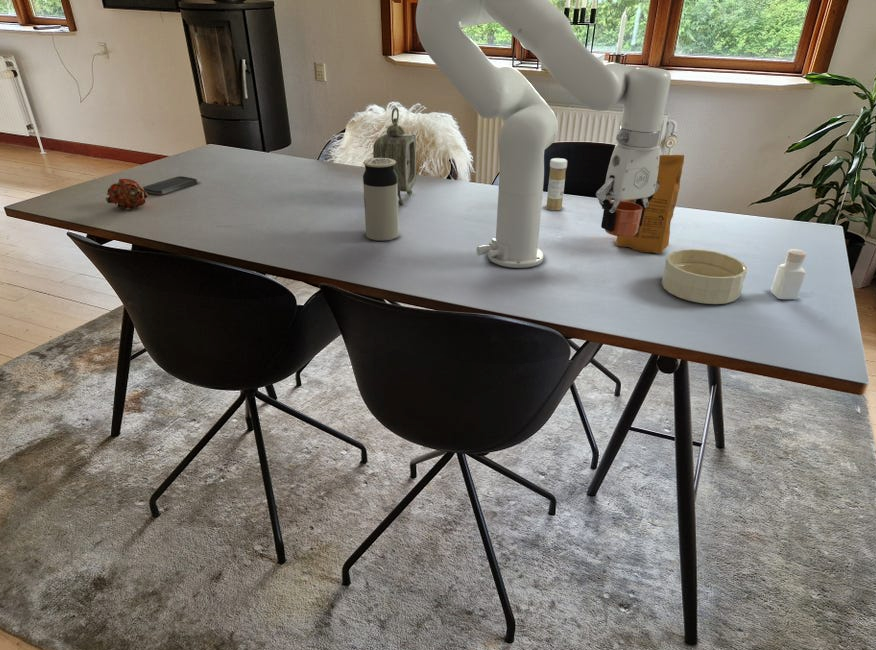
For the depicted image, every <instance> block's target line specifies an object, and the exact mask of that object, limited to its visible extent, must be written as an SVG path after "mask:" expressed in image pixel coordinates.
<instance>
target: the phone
mask: <svg viewBox="0 0 876 650" xmlns="http://www.w3.org/2000/svg"><path fill="white" fill-rule="evenodd" d="M197 184H198V179H197V178H193V177H187V176H183V175H182V176H181V175H179V176H175V177H171V178H168V179H165V180H162V181H157V182H155V183H152V184H151V183H150V184H148V185H144V186H141V187H142V188H143V189H144V190H145V191H146V194H152V195H157V196H158V195H159V196H161V195H166V194H168V193H172V192H175V191H179V190H181V189H185V188H188V187H191V186H194V185H197Z"/></svg>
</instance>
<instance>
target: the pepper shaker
mask: <svg viewBox="0 0 876 650" xmlns="http://www.w3.org/2000/svg"><path fill="white" fill-rule="evenodd" d="M806 256H807V252H806V251H804V250H801V249H795V248H791V249H788V250H787V253H786V257H785V261H784V263H781V264H779V265H778V266H777V267H776V268H777V269H776V271H775V275H774V278H773V282H772V285H771V288H770V293H771V294H773V295H774V296H775V297H776V298H777V299H779V300H796V299H798V298H799V294H800V291H801V288H802V286H803V285H802V284H803V282H804V279H805V276H806V270H805V268H803V264H804V262H805V258H806Z"/></svg>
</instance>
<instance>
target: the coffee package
mask: <svg viewBox="0 0 876 650" xmlns="http://www.w3.org/2000/svg"><path fill="white" fill-rule="evenodd" d="M684 163H685V155H684V154H660V158H659V169H658V176H657V183H658V184H659V189H658V190H657V191H656V193H655V194H654V195H653V198H652V199H651V200H650V201H649V202H648V203H649V205H648V207H646V208H645V212H644V217H643V222H642V226H640V227H639V228H638V232H637V233H636V234H635V235H634V236H631V237H619V236H616V238H615V245H616V246H617V247H623V248H630V249H632V250H634V251H636V252H641V253H648V254H649V253H651V254H662V253H663V251H664V250H666V249H667V247H668V246H669V244H670V235H671V221H672V219H673V218H674V213H675V212H674V211H675V208H676V205H677V201H678V196H679V193H680V192H679V191H680V187H681V178H682V174H683V166H684ZM628 201H629V202H633V203H635V200H628Z"/></svg>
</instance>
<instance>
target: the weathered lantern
mask: <svg viewBox="0 0 876 650" xmlns="http://www.w3.org/2000/svg"><path fill="white" fill-rule="evenodd" d="M395 112H396V117H394V115H395ZM399 112H400V111H399V108H398V107H397V106H394V107H393V108H392V111H391V123H392V124H391V125H390V126H388V127H387V129H386V132H385V134H383V135H381V136H379V137H378V138H376V140H375V141H374V142H373V148H372V150H373V153H372V158H389V159H393V160H395V161H396V164H395V166H394V170H395V172H396V174H397V189H398V206H400V207H402V206H404V205H405V201H404V200H403V199H402V195H401V192H404V193H405V192H406V194H407V195H408V196H411V195H412V194H413V191H412V189H413V187H414V186H415V183H416V180H417V140H416V139H417V138H416V135H415V134H414V133H406V132H405V129H404V127H402V125H399V124H398V122H399V119H400V118H399V117H400V113H399Z"/></svg>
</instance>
